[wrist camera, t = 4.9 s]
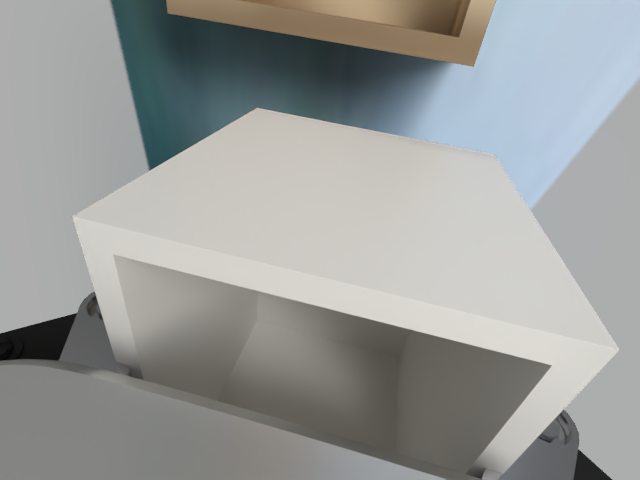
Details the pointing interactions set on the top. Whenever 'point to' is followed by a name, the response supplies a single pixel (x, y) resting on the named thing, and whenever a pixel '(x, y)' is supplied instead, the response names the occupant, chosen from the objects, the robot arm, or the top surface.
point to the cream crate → (346, 289)
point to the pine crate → (361, 22)
